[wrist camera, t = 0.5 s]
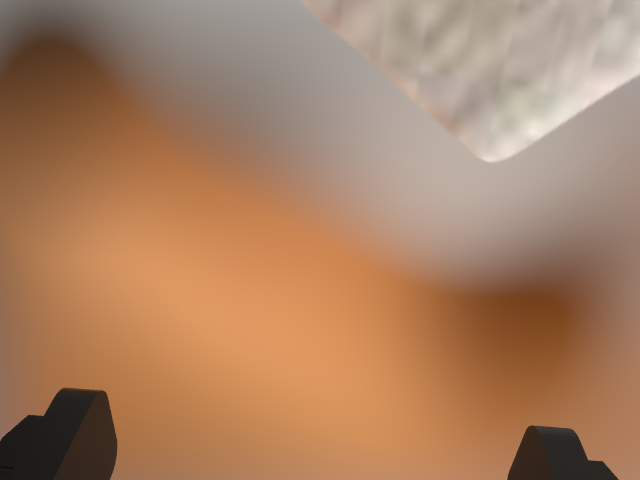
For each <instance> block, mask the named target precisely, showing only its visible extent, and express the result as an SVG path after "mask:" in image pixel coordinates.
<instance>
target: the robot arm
mask: <svg viewBox="0 0 640 480" xmlns="http://www.w3.org/2000/svg"><path fill="white" fill-rule="evenodd" d="M116 456H117V438H116V434H115V429H114V424H113V420H112V415H111V410H110V406H109V401H108V397H107V394H106V392H105V391H102V390H89V389H76V388H63V389H61V390H60V391H59V392H58V393H57V394H56V396H55V397H54V399H53V401H52V403H51V404H50V406H49V408H48V409H47V411H46V413H45V415H44V416H35V415H28V416H27V417H26V418H24V419H23V420H22V421H21V422H20V423H19V424H18V425H16V426H15V427H14V428H13V429H12V430H11V431H10V432H8V433H7V434H6V435H5V436H4V437H3V438H2V439H1V441H0V480H110V478H111V475H112V473H113V470H114V466H115V462H116ZM507 480H618V478H617V477H616V476H615V475H614V474H613V473H612V472H611V470H610V469H609V468H608V467H607V466H606V465H605V463H603V461H590V460H588V459H587V456H586V454H585V452H584V449H583V447H582V444H581V442H580V440H579V438H578V436H577V434H576V433H575V432H574V430H572V429H569V428H557V427H544V426H529V427H528V428H527V429H526V432H525V434H524V437H523V439H522V441H521V444H520V446H519V449H518V451H517V454H516V456H515V459H514V461H513V464H512V466H511V469H510V471H509V474H508V479H507Z"/></svg>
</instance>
